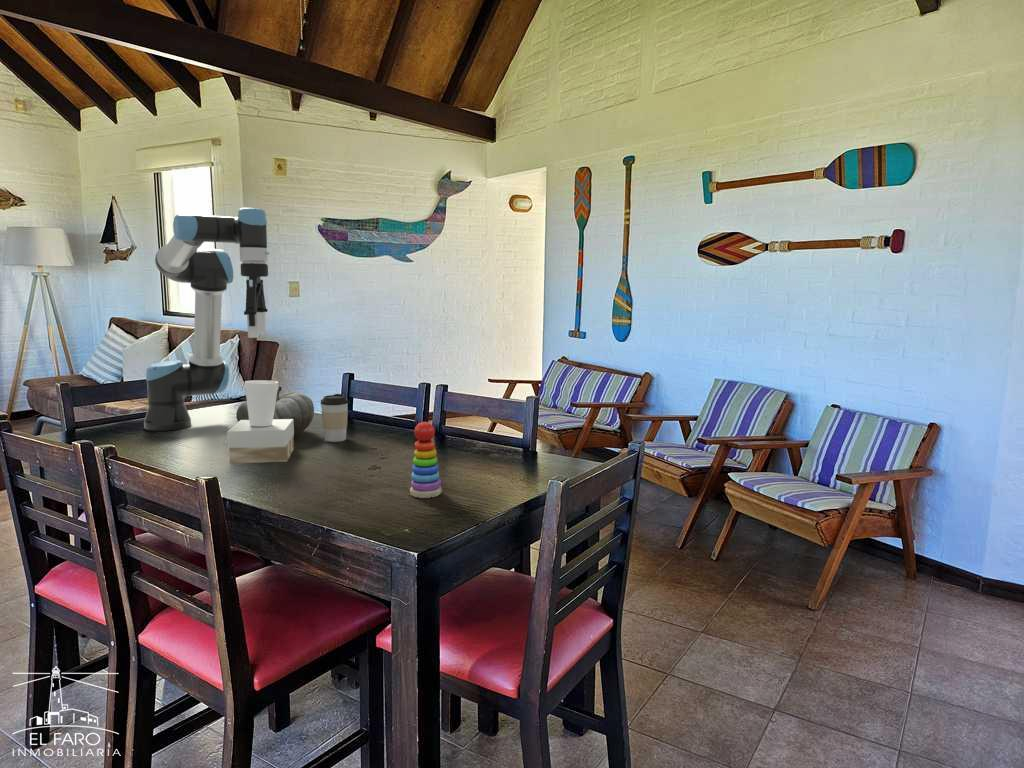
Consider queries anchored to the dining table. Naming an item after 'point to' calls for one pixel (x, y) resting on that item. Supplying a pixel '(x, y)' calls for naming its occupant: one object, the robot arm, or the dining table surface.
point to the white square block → (261, 434)
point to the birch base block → (261, 454)
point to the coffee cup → (334, 417)
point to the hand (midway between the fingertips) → (257, 335)
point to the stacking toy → (425, 464)
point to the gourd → (287, 410)
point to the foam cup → (261, 401)
